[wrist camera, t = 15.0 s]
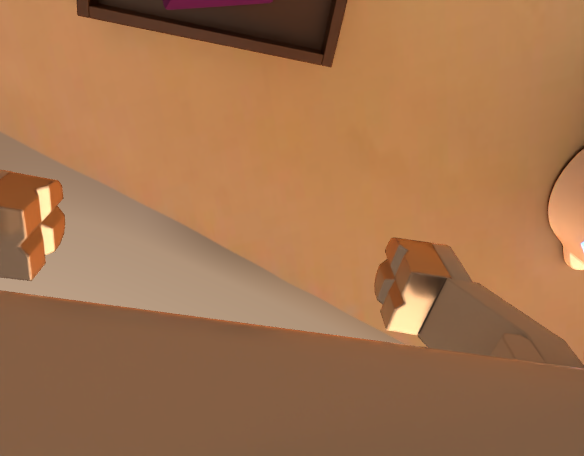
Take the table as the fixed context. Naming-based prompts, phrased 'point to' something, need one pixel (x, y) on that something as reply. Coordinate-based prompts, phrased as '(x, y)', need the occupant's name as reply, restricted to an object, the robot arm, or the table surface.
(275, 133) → the table surface
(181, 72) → the table surface
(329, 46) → the tray
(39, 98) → the table surface
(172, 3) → the perfume bottle
